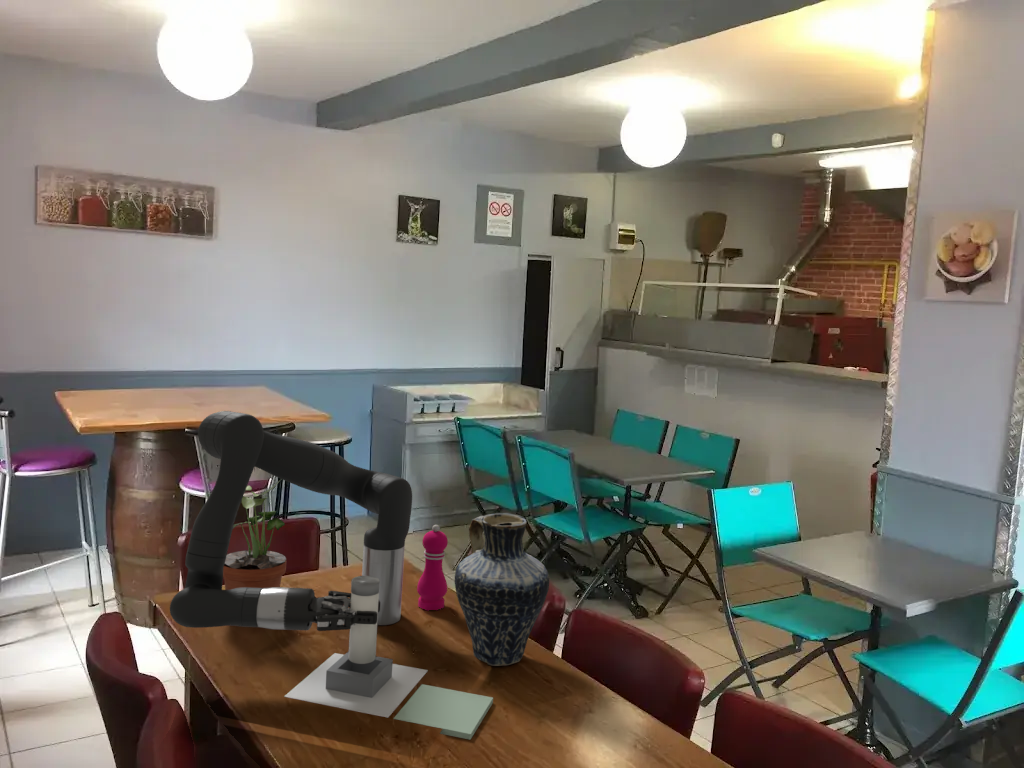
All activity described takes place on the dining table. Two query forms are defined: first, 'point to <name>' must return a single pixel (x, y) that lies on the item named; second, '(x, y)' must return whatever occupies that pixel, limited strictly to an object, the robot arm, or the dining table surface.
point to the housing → (358, 685)
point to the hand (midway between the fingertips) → (378, 612)
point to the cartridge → (363, 634)
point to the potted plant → (255, 554)
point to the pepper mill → (433, 571)
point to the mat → (446, 710)
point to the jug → (500, 588)
